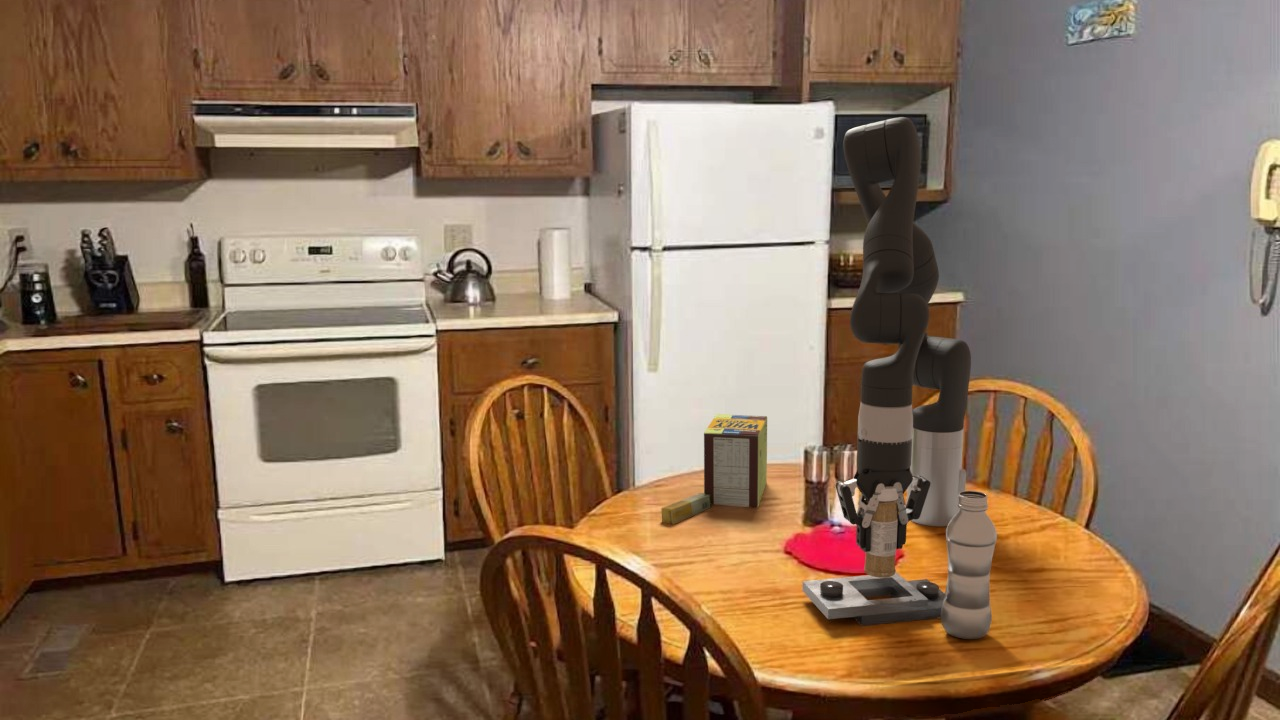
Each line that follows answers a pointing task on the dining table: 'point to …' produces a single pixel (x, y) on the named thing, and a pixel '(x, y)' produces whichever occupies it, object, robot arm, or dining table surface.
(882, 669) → the dining table surface
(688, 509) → the medication box
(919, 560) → the dining table surface
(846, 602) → the grey slotted fixture plate
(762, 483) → the protein box
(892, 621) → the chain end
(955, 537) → the plastic bottle
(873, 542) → the sprinkles bottle
